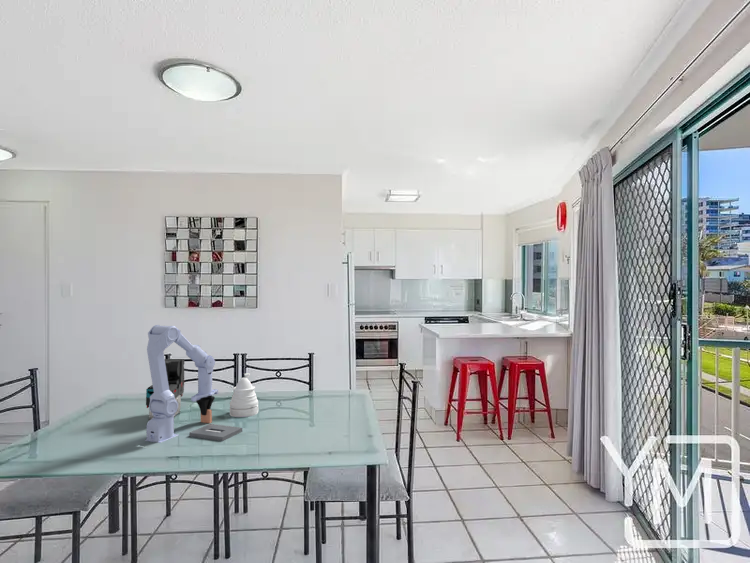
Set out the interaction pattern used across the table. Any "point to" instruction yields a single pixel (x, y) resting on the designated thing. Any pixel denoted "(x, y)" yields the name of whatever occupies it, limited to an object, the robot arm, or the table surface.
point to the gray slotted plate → (215, 432)
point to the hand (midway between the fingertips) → (205, 414)
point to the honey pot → (244, 399)
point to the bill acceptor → (171, 382)
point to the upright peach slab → (207, 417)
